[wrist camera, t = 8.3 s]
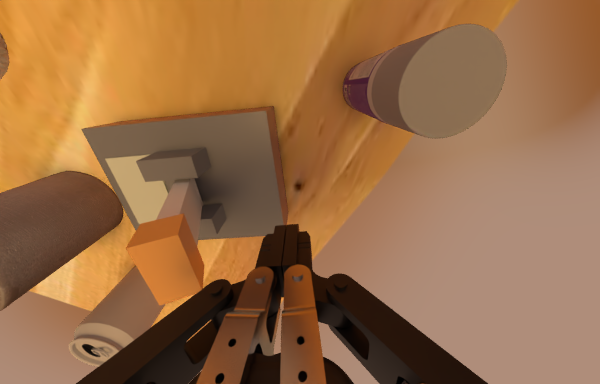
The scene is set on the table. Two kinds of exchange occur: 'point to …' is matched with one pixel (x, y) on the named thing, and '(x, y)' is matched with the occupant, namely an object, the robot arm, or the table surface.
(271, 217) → the box
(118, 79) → the table surface
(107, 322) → the can
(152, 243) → the breaker lever
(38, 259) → the pillar candle
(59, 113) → the table surface
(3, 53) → the ceramic cottage
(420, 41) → the container
